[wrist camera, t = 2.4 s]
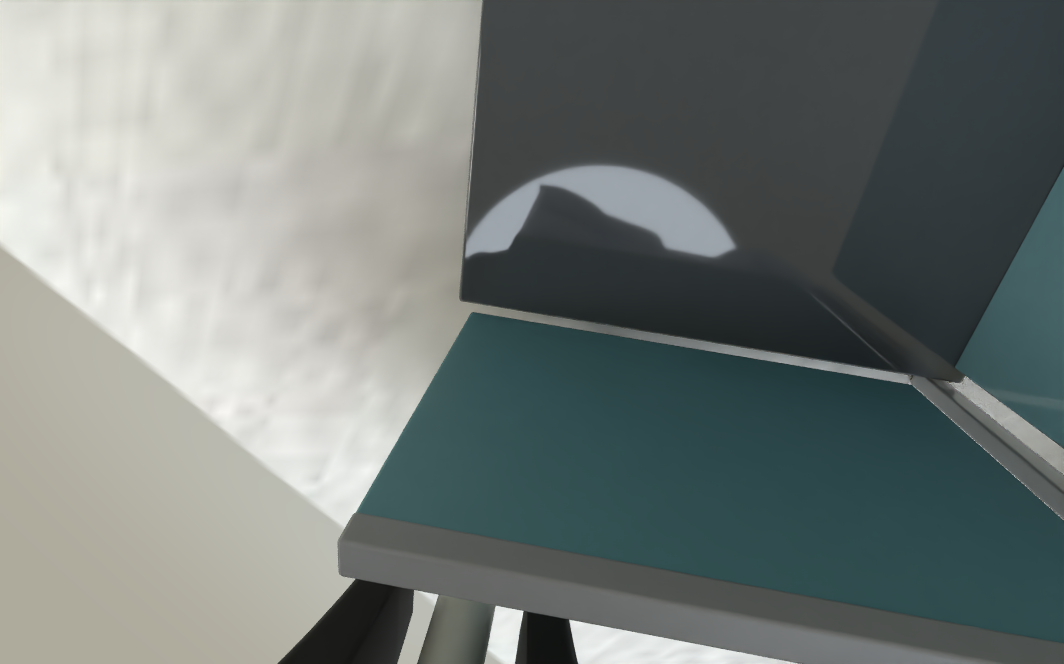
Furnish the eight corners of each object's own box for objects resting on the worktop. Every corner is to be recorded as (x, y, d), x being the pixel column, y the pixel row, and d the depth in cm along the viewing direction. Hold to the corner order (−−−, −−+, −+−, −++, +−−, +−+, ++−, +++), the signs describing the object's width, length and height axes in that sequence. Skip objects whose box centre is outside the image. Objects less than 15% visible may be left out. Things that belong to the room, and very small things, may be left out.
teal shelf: (827, 549, 14) (1027, 933, 8) (456, 482, 15) (344, 790, 8) (913, 382, 12) (1299, 722, 5) (471, 309, 12) (334, 540, 6)
